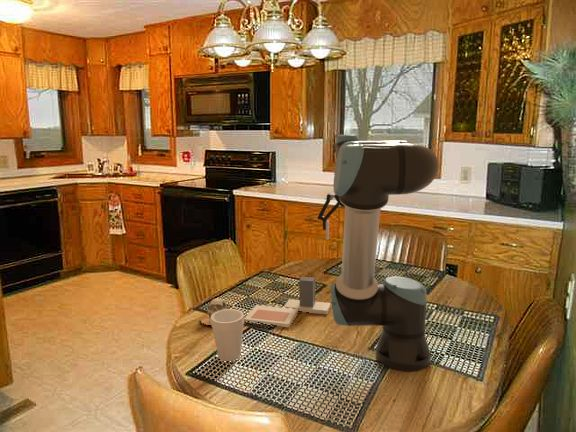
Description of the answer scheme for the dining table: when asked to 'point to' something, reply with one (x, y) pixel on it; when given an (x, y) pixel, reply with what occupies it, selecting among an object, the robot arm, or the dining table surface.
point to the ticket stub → (308, 298)
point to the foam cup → (228, 333)
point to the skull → (216, 307)
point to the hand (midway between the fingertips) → (346, 239)
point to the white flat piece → (272, 315)
